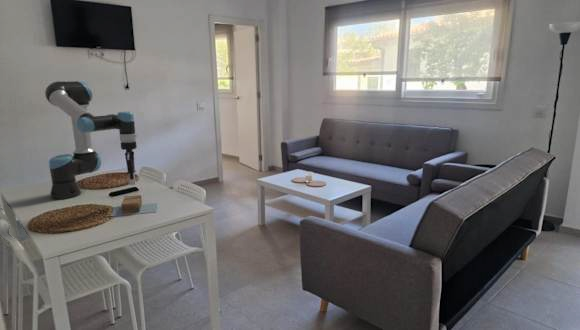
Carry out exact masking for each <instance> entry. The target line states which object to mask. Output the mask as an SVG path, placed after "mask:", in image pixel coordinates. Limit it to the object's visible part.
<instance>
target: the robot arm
mask: <svg viewBox="0 0 580 330" xmlns="http://www.w3.org/2000/svg"><path fill="white" fill-rule="evenodd" d="M44 95H45V98H46V100H47V101H48V103H49V104H51V106H54V107H58V108H59V109H60V110H61V111H63V112H64V113H65V114H66V115H67V116H69V117H70V118H71V119H70V120H71V125H72V133H73V139H74V140H73V141H74V146H75V149H74V151H73V152H72V154H70V153H64V154H60V155H59V154H58V155H55V156H53V157H51V158H50V159H49V161H48V168H49V174H50V177H51V184H52V185H51V187H50V188H51V190H50V199H52V200H66V199H72V198H76V197H78V196H80V195H81V194H82V191H81V188H80V186H79V184H78V182H77V180H76V177H77V176H80V175H86V174H91V173H95V172H97V171H98V170H99V169H100V168H101V165H102V158H101V155H100V153H98V152H96V150H95V149H94V148H93V144H92V143H93V142H92V137H91V133H93V132H100V131H109V130H110V131H112V130H119V131H118V132H119V141H120V149H121V150H123V151H124V150H125V152H124V155H125V161H126V169H127V174H128V181H129V185H130V186H135V185H136V183H137V182H136V176H135V175H136V172H137V170H135V152H134V151H133V150H136V149H137V148H138V147H137V141H136V137H138V135H137V134H136V127H135V125H136V124H135V116H134V113H133V111H118V113H117V114H106V115H96V116H95V115H92V113H90V112H89V111H88V107H89V106H90V102H91V101H92V100H93V96H94V95H93V92H92V89H91V86H89V84H88V83H87V82H85V81H78V80H75V81H59V80H58V81H54V82H52V83H50V84H48V86H47V87H46V88H45V91H44Z"/></svg>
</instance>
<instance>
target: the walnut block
mask: <svg viewBox="0 0 580 330" xmlns="http://www.w3.org/2000/svg"><path fill="white" fill-rule="evenodd" d="M120 204H121V205H120V207H121V206H122V214H126V213H136V212H140V209H141V206H142V205H143V201H142V195H141V194H139V195H127V196H124V197H123V200H122V201H121V203H120Z"/></svg>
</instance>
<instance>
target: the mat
mask: <svg viewBox="0 0 580 330" xmlns="http://www.w3.org/2000/svg"><path fill="white" fill-rule="evenodd" d="M111 208H113V213H112V214H111V216H112V217H120V216H131V215H140V214H141V215H143V214H150V213H157V209H158V202H157V203H146V204H145V203H144V204H143V203H142V206H141V209H140V212H136V213H126V214H122V206H121V205H120V206H114V207H111Z"/></svg>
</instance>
